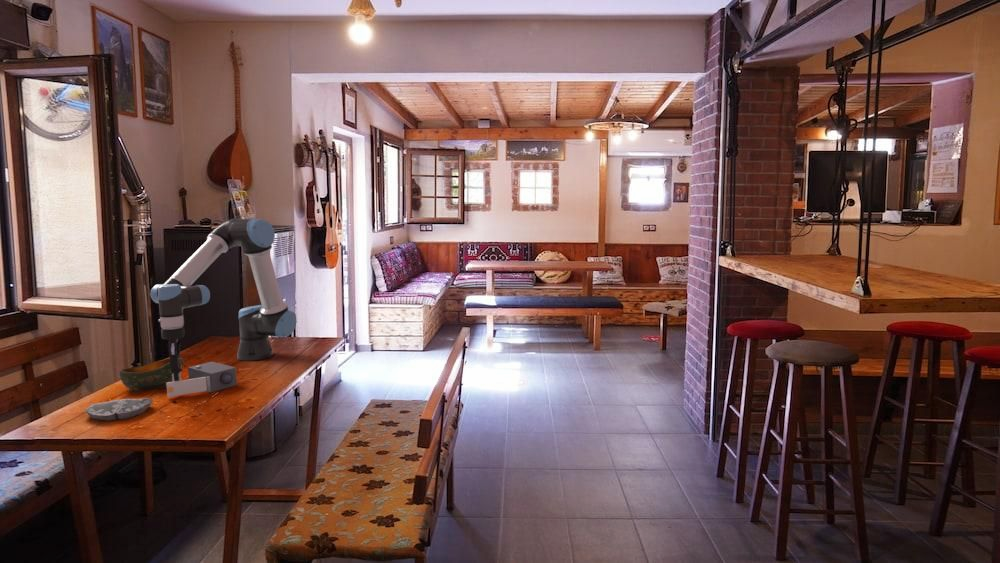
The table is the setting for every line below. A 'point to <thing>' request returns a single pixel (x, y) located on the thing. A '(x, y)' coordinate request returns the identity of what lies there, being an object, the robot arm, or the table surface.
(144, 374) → the cup
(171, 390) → the door
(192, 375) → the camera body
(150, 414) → the table surface
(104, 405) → the brain slice
